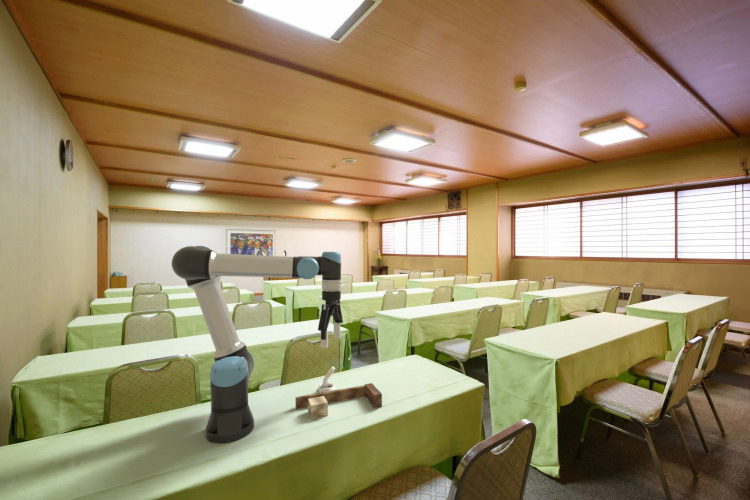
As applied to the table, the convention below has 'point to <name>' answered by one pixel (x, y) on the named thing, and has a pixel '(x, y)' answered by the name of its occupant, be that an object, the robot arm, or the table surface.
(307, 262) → the robot arm
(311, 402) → the beige wooden block
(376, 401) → the guide rail
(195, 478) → the table surface
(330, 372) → the hook
